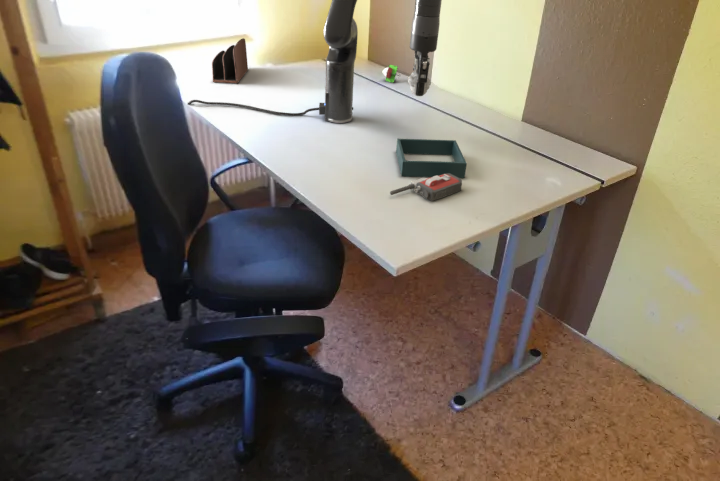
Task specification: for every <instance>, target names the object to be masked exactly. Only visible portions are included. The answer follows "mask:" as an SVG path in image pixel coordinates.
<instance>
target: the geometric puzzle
mask: <svg viewBox="0 0 720 481" xmlns="http://www.w3.org/2000/svg"><path fill="white" fill-rule="evenodd" d="M398 69H399V66H398V65H393V64H388V66H386V67H384V68H383V70H382V71H381V72H382V75H383V77H385V78H383V79H384V81H385V82H388V83H391V84H394V83H395V81H396V76H397V77H398V79H400V76H401V74H400V73H399V72H398ZM397 73H398V74H397Z"/></svg>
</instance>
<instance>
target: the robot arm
mask: <svg viewBox="0 0 720 481" xmlns="http://www.w3.org/2000/svg"><path fill="white" fill-rule="evenodd" d="M357 2H358V0H331V2H330V7H329V10H328V13H327V16H326V18H325V22H324V25H323V32H322V33H323V34H322V35H323V39H324V41H325V43H326V44H327V46H328V53H327V55H326V58H325V86H324V88H325V92H324V102H319V103H318V107H312V108H308V109H306V110H304V111H302V112H296V113H294V112H293V113H292V112H283V111H275V110H270V109H266V108H261V107H256V106H251V105H247V104H241V103H234V102H233V103H232V102H223V101H219V102H218V101H204V100H200V99H192V100H189V101H188V102H187V105H189V106H190V105H191V104H194V103H197V104H198V103H199V104H204V105H211V106H212V105H213V106H214V105H215V106H232V107H240V108H245V109H246V108H247V109H251V110H254V111H259V112H265V113H268V114H274V115H279V116H280V115H281V116H289V117H290V116H291V117H294V116H295V117H298V116H303V115H306V114H308V113H310V112H313V111H314V112H315V111H318V115H319V116H320V115H321V116H324V121H325V122H329V123H334V124H343V123H344V124H345V123H349V122H351V121H352V120H353V111H354V107H353V104H354V102H353V100H354V78H355V62H356V58H357V52H358V51H357V50H358V36H359V35H358V32H359V31H358V25H357V22H356V20H355V19H354V13H355V9H356V5H357ZM441 9H442V0H415V1H414V8H413V12H414V13H413V17H412V22H411V31H410V38H409V49H410V50H412V51H413V52H414V55H413V68H412V72H415V73H416V74H417V80H416V81H417V85H416V95H415V97H424V95H425V94H424V86H425V83H427V78H429V69H430V65H431V64H430V61H431V59H430V57H429V53H433V52H435V51H436V50H437V48H438V41H439V40H438V39H439V32H440V21H441V20H440V18H441V17H440V16H441ZM421 75H424V78H420V77H421ZM423 94H424V95H423Z"/></svg>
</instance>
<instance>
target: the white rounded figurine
mask: <svg viewBox="0 0 720 481" xmlns="http://www.w3.org/2000/svg"><path fill="white" fill-rule="evenodd" d="M420 78H424V75H421V77H420ZM416 80H417V74H416V73H415V72H414V71H412V72H411V74H409V76H408V77H407V82H408V84H409V86H410V92H411V93H412V95H414V96H416V85H417V81H416ZM430 82H431V79H429V77H427V83H425V86H424V94H423V96H424V95H426V93H427V92H428V90H429V89H430V86H431V83H430Z"/></svg>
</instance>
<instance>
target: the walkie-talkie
mask: <svg viewBox="0 0 720 481" xmlns="http://www.w3.org/2000/svg"><path fill="white" fill-rule="evenodd" d="M462 185H463V179H462V178H458V177H456V176H454V175H452V174H450V173H447V174H442V175H439V176H437V175H436V176H433V177H420V178H418V179H414V180H411V181H410V184H407V185H405V186H402V187H399V188H396V189H394V190H393V189H392V190H391V191H389V195H390V196H393V195H396V194H400V193H403V192H405V191H408V190H414V193H416V194H418V195H420V196H421V197H423V198H424V199H427V200H428V201H431V202H434V201H437V200H439V199H442V198H445V197H448V196H451V195H453V194H456V193H459V192H460V191H462Z"/></svg>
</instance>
